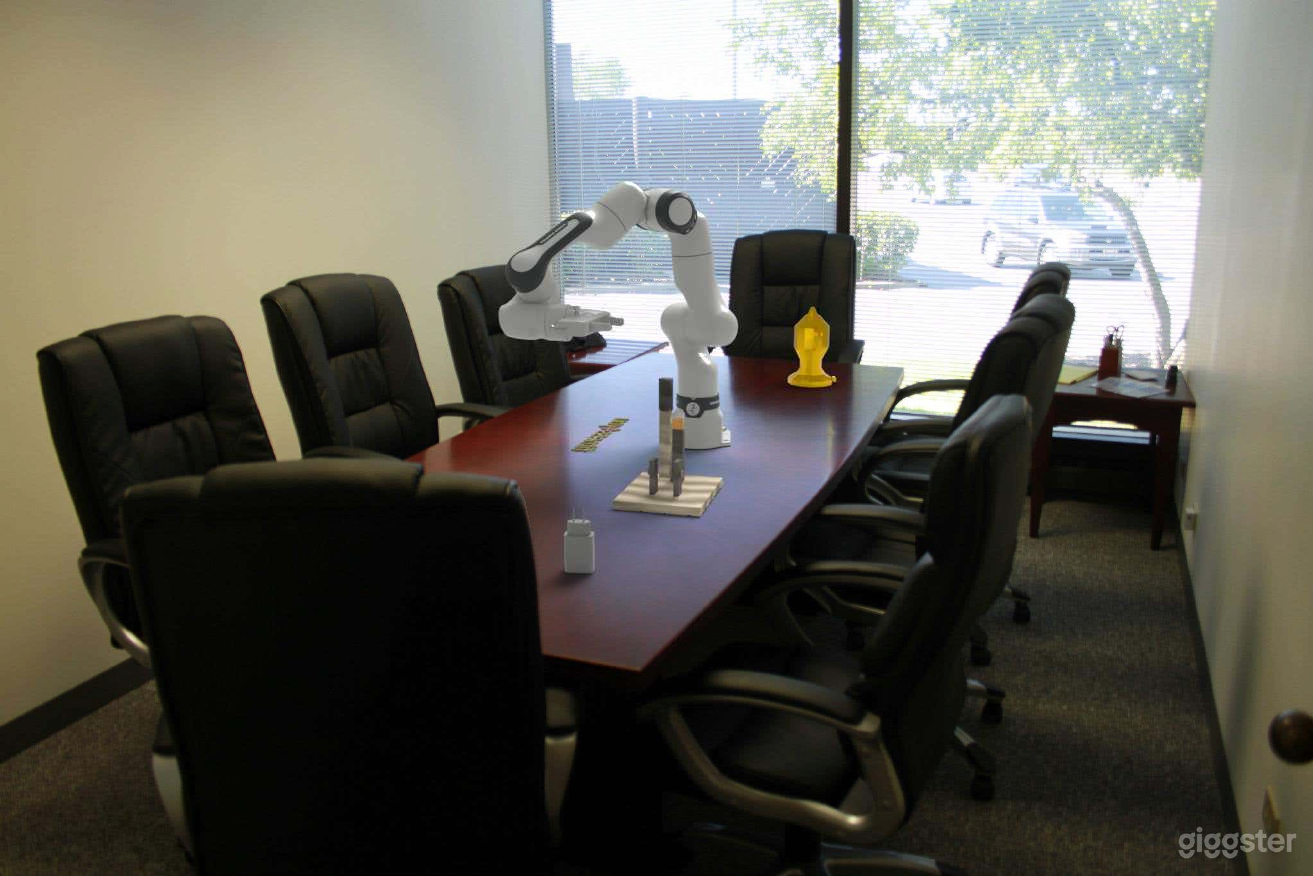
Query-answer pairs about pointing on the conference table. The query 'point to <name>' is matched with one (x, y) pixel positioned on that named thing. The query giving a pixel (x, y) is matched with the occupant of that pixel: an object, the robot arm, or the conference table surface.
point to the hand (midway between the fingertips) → (617, 324)
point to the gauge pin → (678, 421)
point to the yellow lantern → (811, 351)
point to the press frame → (669, 487)
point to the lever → (665, 427)
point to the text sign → (609, 428)
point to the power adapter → (579, 546)
